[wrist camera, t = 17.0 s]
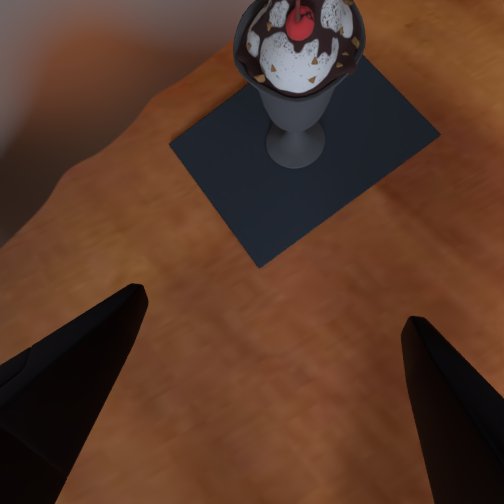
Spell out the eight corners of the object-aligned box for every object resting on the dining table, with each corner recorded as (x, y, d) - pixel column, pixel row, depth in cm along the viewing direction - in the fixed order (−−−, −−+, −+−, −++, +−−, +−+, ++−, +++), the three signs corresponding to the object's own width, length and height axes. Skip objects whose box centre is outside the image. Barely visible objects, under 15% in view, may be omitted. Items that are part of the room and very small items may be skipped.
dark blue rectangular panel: (439, 135, 23) (441, 134, 23) (259, 268, 24) (259, 268, 23) (329, 23, 26) (330, 21, 26) (169, 145, 26) (168, 144, 26)
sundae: (299, 194, 24) (311, 38, 9) (240, 146, 25) (168, -60, 10) (353, 136, 24) (451, -114, 9) (292, 91, 25) (292, -192, 10)
